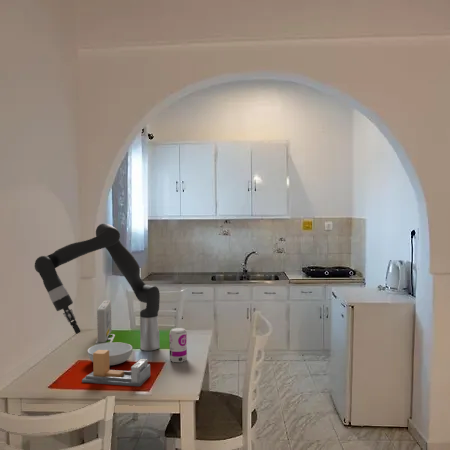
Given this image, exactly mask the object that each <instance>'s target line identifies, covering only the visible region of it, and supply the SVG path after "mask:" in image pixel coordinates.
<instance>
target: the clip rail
mask: <svg viewBox="0 0 450 450" xmlns="http://www.w3.org/2000/svg"><path fill="white" fill-rule="evenodd" d="M148 362H149V360H148V359H147V358H140V359H139V360H138V361H137V362H135V363H134V364H133V365H132V366H131V367H130V370H123V371H124V375H123V376H122V377H109V376H94V374H93V371H91V372H90V373H89V374H86V375H85V376H84V377H83V378H82V380H81V382H82V383H86V384H87V383H89V384H99V385H100V384H102V385H115V386H127V387H128V386H129V387H141V386H142V385H143V384H145V382H146V381H147V380H148V379H149V378H150V377H151V364H150V363H148ZM116 370H117V371H121V370H118V369H116Z"/></svg>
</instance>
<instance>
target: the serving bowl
mask: <svg viewBox="0 0 450 450" xmlns="http://www.w3.org/2000/svg"><path fill="white" fill-rule="evenodd" d="M101 343H102V344H98V345H97V344H94V345H92V346H90V347H89V348H87V356H88V358H89V360H90V361H91V362H92V363H93V353H94V352H96V351H97V350H109V367H111V366H115V365H119V364H122V363H124V362H126V361H128V360H129V358H130V357H131V355H132V354H133V345H131V344H129V343H127V342H120V341H119V342H117V341H116V342H113V341H112V342H111V343H109V342H101Z"/></svg>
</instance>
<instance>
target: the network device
mask: <svg viewBox="0 0 450 450" xmlns="http://www.w3.org/2000/svg"><path fill="white" fill-rule="evenodd" d="M96 311H97V313H96V315H97V316H96V317H97V318H96V319H97V322H96V323H97V324H96V325H97V339H96V341H95V344H94V345H98V344H102V343H107V341H108V343H111V342H113V341H114V338H115V337H116V334H114V333H111V332H112V326H113V325H112V300H103V302H102V303H101V304H100V305H99V307H98V308H97V309H96ZM109 335H112V336H111V337H110V336H109Z"/></svg>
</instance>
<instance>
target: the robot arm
mask: <svg viewBox="0 0 450 450" xmlns="http://www.w3.org/2000/svg"><path fill="white" fill-rule="evenodd" d="M120 238H121V233H120V231H119V230H118V229H117V228H116V227H114V226H113V225H112V224H109V223H101V224H99V225H98V226H97V227H96V229H95V236H94V237H92V238H90V239H87V240H83V241H78V242H77V241H76V242H73V243H70V244H66V245H65V246H63V247H61V248H59V249H57V250H55V251H54V252H52V253H50V254H48V255H41V256H39V257H37V258H36V259H35V261H34V270H35V271H36V272H37V273H38V274H39V276H40V278H41V279H42V282H43V285H44V287H45V289H46V291H47V294H48V296H49V299H50V301H51V302H52V305H53V307H54V308H55V310H56V312H59V311H62V310H63V312H64V313H62V314H63V316H64V317H65V319H66V321H67V322H68V323H69V325H70V326H71V327H72V329H73V331H74V333H75V334H80V333H81V329H80V327H79V325H78V322H77V320H76V316H75V314H74V311H73V309H70V308H69V307H70V306H71V305H73V303H74V301H73V299H72V298H71V296H70V294H69V292H68V290H67V288H66V287H65V286H64V284H63V281H62V280H61V278H60V277H59V274H58V272H57V270H56V268H58V267H60V266H62V265H65V264H66V263H69V262H71V261H73V260H75V259H78V258H79V257H83V256H85V255H87V254H90V253H93V252H95V251H98V250H101V249H102V250H103V249H106V250H107V251H108V253H109V254H110V257H111V258H112V260H113V262H114V263H115V266H116V267H117V268H118V270H119V272H120V273H121V274H122V276H123V277H124V278H125V280H126V281H127V283H128V284H129V286H130V287H131V289H132V291H133V293H134V295H135V297H136V298H137V300H138V301H139V302H140V303H145V306H146V307H145V308H144V309H141V310H140V312H139V321H140V324H139V327H140V328H139V329H140V332H139V333H140V334H139V335H140V345H139V346H140V350H142V351H145V352H147V351H148V352H150V351H155V350H157V349H160V330H159V310H160V301H161V300H160V298H161V297H160V295H161V294H160V288H158V287H157V286H156V285H149V284H146V283H145V282H144V281H143V279H142V278H141V275H140V274H141V273H140V272H141V267H140V265H139V263H138V262H137V260H136V258H135V257H134V256H133V254H132V253H131V252H130V251H129V250H128V249H127V248H126V247H125V246H124V245H123V244H122V243H121V241H120Z"/></svg>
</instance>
